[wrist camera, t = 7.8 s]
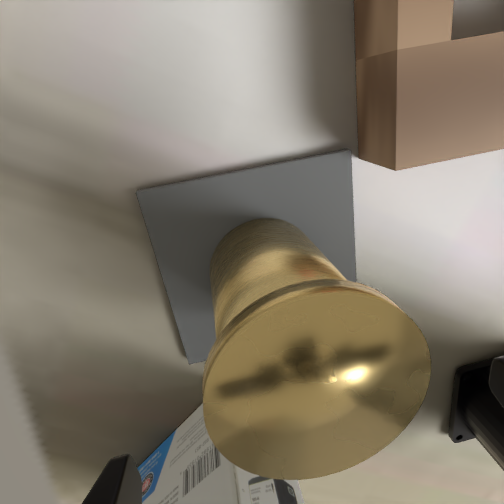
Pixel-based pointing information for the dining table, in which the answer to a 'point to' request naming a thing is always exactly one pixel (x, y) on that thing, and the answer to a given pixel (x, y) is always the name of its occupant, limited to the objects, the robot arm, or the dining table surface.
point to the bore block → (424, 85)
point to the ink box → (206, 473)
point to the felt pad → (234, 214)
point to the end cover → (304, 358)
